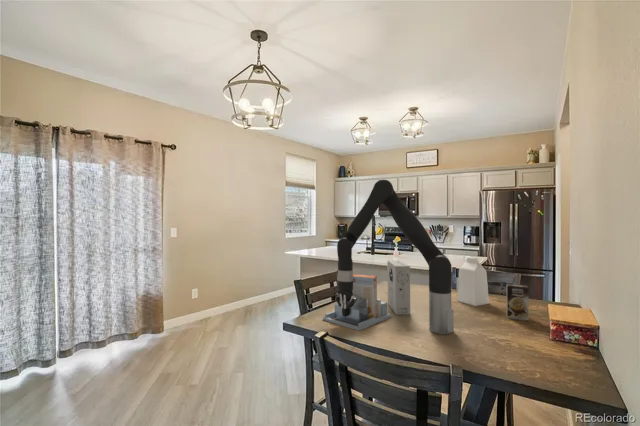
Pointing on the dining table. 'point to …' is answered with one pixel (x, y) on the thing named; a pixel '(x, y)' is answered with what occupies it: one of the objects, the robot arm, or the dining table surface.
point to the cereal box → (398, 286)
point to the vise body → (380, 317)
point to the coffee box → (517, 302)
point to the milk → (472, 283)
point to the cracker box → (366, 291)
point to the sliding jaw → (354, 312)
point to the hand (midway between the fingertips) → (345, 316)
